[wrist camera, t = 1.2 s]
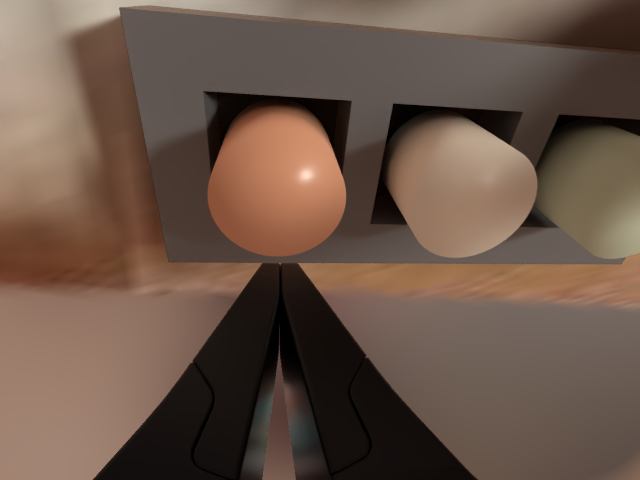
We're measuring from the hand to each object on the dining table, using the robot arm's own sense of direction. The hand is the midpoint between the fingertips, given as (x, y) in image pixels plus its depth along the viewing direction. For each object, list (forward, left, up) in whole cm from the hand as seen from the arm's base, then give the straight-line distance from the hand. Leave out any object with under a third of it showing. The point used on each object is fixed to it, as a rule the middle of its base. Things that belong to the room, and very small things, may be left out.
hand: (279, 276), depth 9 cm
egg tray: (-7, 0, -10) cm, 12 cm away
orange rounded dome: (0, 0, -8) cm, 8 cm away
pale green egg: (-14, 0, -8) cm, 16 cm away
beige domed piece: (-7, 0, -8) cm, 11 cm away
